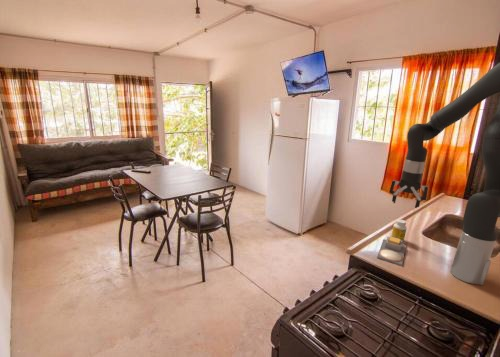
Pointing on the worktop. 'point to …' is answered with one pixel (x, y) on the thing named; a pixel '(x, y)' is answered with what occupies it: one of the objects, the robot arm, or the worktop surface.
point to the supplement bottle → (399, 229)
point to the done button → (394, 240)
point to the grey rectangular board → (392, 252)
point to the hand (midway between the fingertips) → (404, 205)
